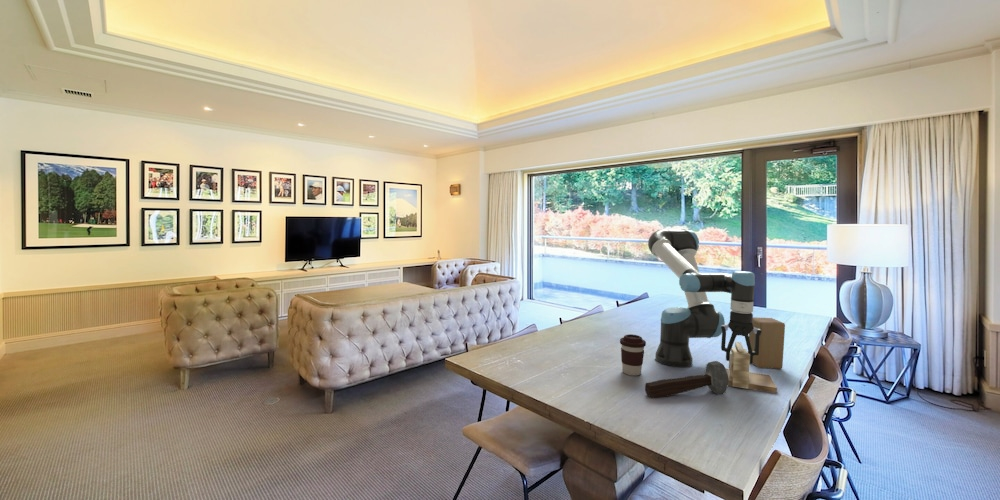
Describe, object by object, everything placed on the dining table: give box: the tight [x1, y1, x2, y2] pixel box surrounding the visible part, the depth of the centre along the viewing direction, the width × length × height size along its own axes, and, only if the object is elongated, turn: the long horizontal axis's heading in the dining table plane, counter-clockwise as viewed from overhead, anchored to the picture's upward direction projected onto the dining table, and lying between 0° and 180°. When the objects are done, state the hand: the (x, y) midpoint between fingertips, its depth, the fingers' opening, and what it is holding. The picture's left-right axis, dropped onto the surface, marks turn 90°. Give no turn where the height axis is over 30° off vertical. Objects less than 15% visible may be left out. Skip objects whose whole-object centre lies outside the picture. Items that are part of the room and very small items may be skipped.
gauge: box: [730, 341, 751, 390], centre depth 155 cm, size 5×14×13 cm, turn 155°
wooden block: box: [747, 316, 786, 370], centre depth 175 cm, size 10×10×20 cm
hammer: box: [644, 360, 729, 399], centre depth 144 cm, size 5×11×30 cm
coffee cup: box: [619, 333, 647, 377], centre depth 164 cm, size 10×10×15 cm
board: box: [725, 367, 778, 394], centre depth 156 cm, size 20×14×2 cm
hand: (738, 370), depth 157 cm, fingers closed on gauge, 5 cm apart
